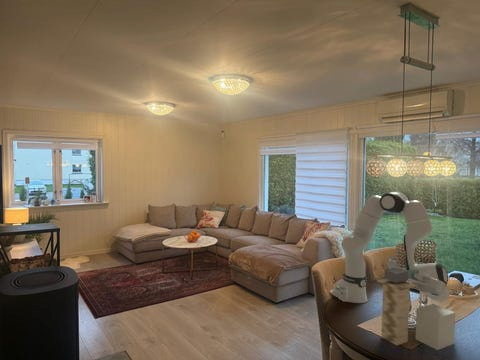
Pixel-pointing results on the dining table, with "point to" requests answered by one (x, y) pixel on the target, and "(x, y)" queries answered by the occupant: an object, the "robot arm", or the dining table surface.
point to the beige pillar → (395, 310)
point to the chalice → (392, 263)
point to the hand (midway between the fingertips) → (409, 272)
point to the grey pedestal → (435, 326)
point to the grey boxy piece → (399, 274)
